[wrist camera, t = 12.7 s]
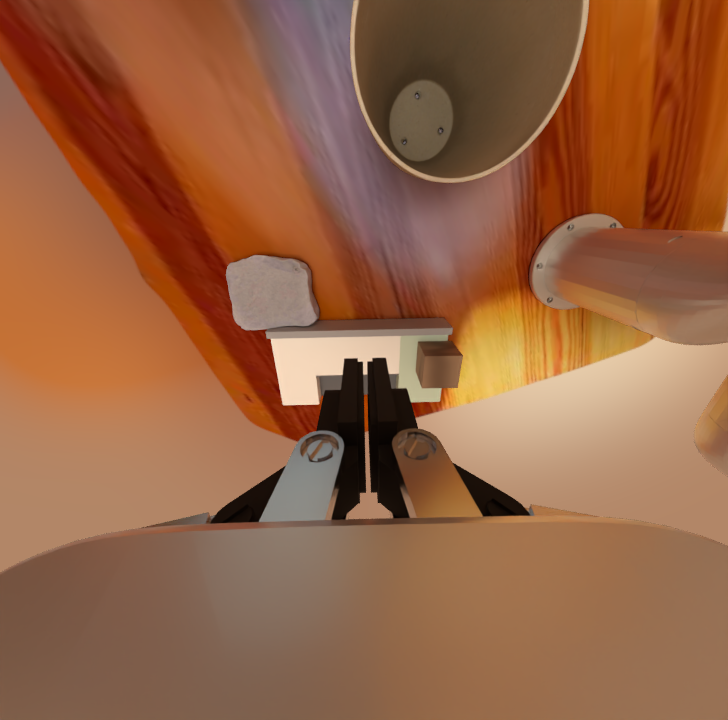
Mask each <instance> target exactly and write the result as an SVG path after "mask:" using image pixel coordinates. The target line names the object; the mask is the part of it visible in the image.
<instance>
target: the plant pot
mask: <svg viewBox="0 0 728 720" xmlns="http://www.w3.org/2000/svg"><path fill="white" fill-rule="evenodd" d="M588 9H589V0H354V2H353V9H352V18H351V29H350V58H351V68H352V76H353V82H354V87H355V91H356V95H357V98H358V102H359V105H360V108H361V111H362V113H363V116H364V118H365V121H366V123H367V125H368V127H369V129H370V131H371V133H372V135H373V137H374V139H375V141H376V142H377V144H378V146H379V147H380V149H381V150H382V152H383V153H384V154H385V155H386V157H387V158H388V159H389V160H390V161H391V162H392V163H393V164H394V165H395V166H397V167H398V168H399V169H401V170H402V171H404V172H406V173H408V174H409V175H412V176H414V177H417V178H420V179H424V180H428V181H433V182H441V183H459V182H466V181H471V180H474V179H478V178H481V177H484V176H486V175H488V174H490V173H492V172H494V171H496V170H498V169H500V168H501V167H503V166H505V165H506V164H508V163H509V162H510V161H512V160H513V159H514V158H516V157H517V156H518V155H519V154H520V153H522V152H523V151H524V150H525V149H526V148H527V147H528V146H529V145H530V144H531V143H532V142H533V141H534V140H535V138H536V137H537V136H538V135H539V134H540V132H541V131H542V130H543V129H544V127H545V126H546V125H547V123H548V122H549V120H550V119H551V117H552V116H553V114H554V113H555V111H556V109H557V108H558V106H559V104H560V102H561V100H562V98H563V96H564V94H565V92H566V90H567V88H568V86H569V84H570V81H571V79H572V76H573V74H574V71H575V68H576V65H577V62H578V60H579V56H580V52H581V48H582V45H583V40H584V36H585V31H586V25H587V18H588ZM416 93H418V94H419V98H418V99H416V98H415V94H416ZM439 128H442V129H443V132H442V133H440V132H439ZM404 140H406V141H407V142H406V144H403V141H404Z"/></svg>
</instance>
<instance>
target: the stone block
mask: <svg viewBox="0 0 728 720" xmlns="http://www.w3.org/2000/svg"><path fill="white" fill-rule="evenodd" d="M226 278H227V282H228V289H229V294H230V299H231V301H232V309H233V317H234V319H235V322H236V323H237V324H238V325H239V326H241V328H243V329H245V330H261V329H271V328H277V327H283V326H309V325H311V324H313V323H314V322H315V321H316V320H317V319H318V318H319V311H320V310H319V307H318V304H317V301H316V300H315V296H314V294H313V293H312V277H311V270H310V269H309V268H308V266H307V264H305V263H304V262H301V261H299V260H296V259H291V258H279V257H275V256H273V257H270V256H266V255H264V256H263V255H253V256H251V257H249V258H246V259H242V260H240V261H238V262H232V263H230V264H229V265H228V267H227V270H226Z"/></svg>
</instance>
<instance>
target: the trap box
mask: <svg viewBox="0 0 728 720" xmlns="http://www.w3.org/2000/svg"><path fill="white" fill-rule="evenodd" d="M452 330H453V328H452V326H451V325H450V324H449V323H448V322H447V321H446V319H445V318H408V319H363V320H317V321H315V322H314V323H313V324H311V325H309V326H283V327H277V328H271V329H268V330H267V331H266V337H267V339H271V343H272V349H273V354H274V360H275V365H276V370H277V376H278V381H279V387H280V392H281V397H282V403H283V405H313V404H319V403H320V398H321V395H324V392H325V390H341V384H342V375H343V366H344V358H358V362H363V384H364V394H368V380H367V361H372V358H386V361H387V367H388V372H389V377H390V383H391V388H392V389H393V388H407V390H408V394H409V397H410V401H411V402H440V396H441V388H422V387H421V385H420V382H419V379H418V376H417V374H416V359H417V346H418V341H448V335H452Z"/></svg>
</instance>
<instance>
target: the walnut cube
mask: <svg viewBox="0 0 728 720" xmlns="http://www.w3.org/2000/svg"><path fill="white" fill-rule="evenodd" d="M462 357H463V355H462V354H461V353H460V351H459V350H458V349H457V347H456V346H455V345H454V343H453V342H452V341H418V346H417V359H416V374H417V376H418V379H419V382H420V385H421V387H422V388H458V382H459V376H460V369H461V363H462Z"/></svg>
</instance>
